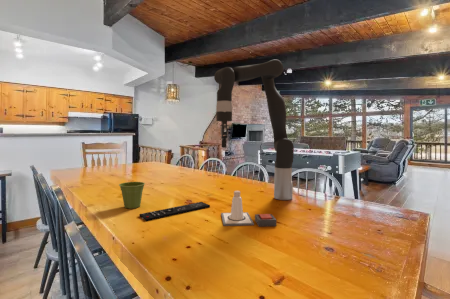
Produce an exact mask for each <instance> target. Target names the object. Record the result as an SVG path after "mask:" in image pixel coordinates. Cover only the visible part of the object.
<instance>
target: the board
mask: <svg viewBox="0 0 450 299" xmlns="http://www.w3.org/2000/svg"><path fill="white" fill-rule="evenodd" d="M220 216H221V220H222V225H223V227H228V226H229V227H234V226H235V227H237V226H240V227H241V226H254V225H255V223H254V221H253V220H252V217H251V215H250V214H249V212H248V211H247V212H244V211H243V218H242V219H232V218H231V217H230V216H231V212H221V213H220Z"/></svg>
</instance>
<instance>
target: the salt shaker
mask: <svg viewBox="0 0 450 299" xmlns="http://www.w3.org/2000/svg"><path fill="white" fill-rule="evenodd" d="M243 210H244V209H243V200H242V197H241V191H240V190H234V191H233V197H232V200H231V210H230V213H231V216H230V217H231V218H232V219H242V218H243V212H244V211H243Z"/></svg>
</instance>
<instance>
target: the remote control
mask: <svg viewBox="0 0 450 299" xmlns="http://www.w3.org/2000/svg"><path fill="white" fill-rule="evenodd" d="M208 208H211V205H210V204H208V203H205V202H203V201H199V202H193V203H189V204H188V203H187V204H182V205H178V206H173V207H169V208H164V209H159V210H153V211H149V212H143V213H140V214H139V215H138V216H139V218H141V220H143V221H145V222H149V221H154V220H159V219H162V218H167V217H168V218H169V217H173V216H178V215H181V214H186V213H190V212H195V211H199V210H200V211H201V210H204V209H208Z"/></svg>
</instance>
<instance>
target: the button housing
mask: <svg viewBox="0 0 450 299" xmlns="http://www.w3.org/2000/svg"><path fill="white" fill-rule="evenodd" d="M259 214H260V213H257V214H254V222H255V223H256V224H257V226H258V227H259V228H260V227H277V219H276V217H275V216H274V215H273V214H272V213H269V214H270V216H271V217H272V219H260V217H259Z"/></svg>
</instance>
